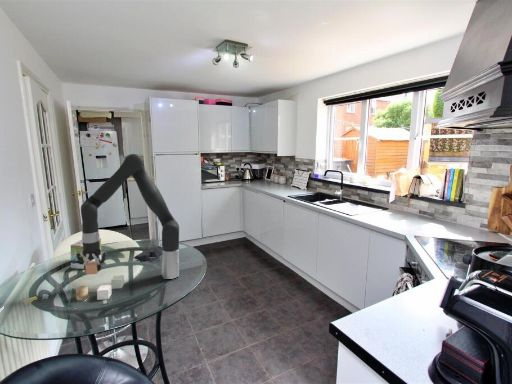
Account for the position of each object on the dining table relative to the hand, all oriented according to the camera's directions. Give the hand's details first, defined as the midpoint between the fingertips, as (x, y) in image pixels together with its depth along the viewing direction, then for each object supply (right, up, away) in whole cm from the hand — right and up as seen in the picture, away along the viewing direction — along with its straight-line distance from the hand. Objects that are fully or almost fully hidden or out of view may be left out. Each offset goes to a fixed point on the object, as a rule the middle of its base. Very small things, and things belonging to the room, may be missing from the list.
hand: (93, 270), depth 140 cm
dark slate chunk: (+12, -3, +46) cm, 48 cm away
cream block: (+10, -11, -6) cm, 16 cm away
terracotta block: (0, -1, 0) cm, 1 cm away
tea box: (-20, -4, +28) cm, 35 cm away
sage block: (+11, -10, +4) cm, 15 cm away
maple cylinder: (0, -11, -8) cm, 14 cm away
